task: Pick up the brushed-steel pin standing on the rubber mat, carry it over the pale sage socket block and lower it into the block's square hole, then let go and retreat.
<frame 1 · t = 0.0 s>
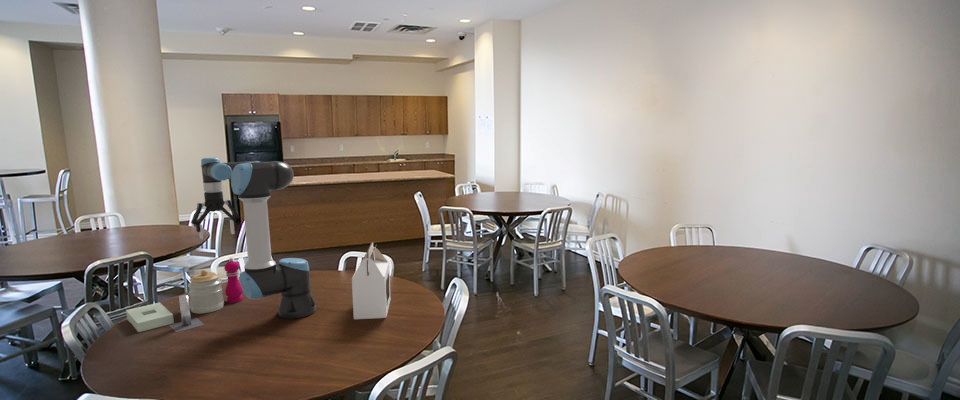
hand: (217, 236, 229), 28 cm above the table, fingers open, 13 cm apart
mat: (186, 325, 196), on the table
pepper mill: (234, 300, 224), on the table
jar: (207, 309, 214), on the table
pin: (186, 324, 196), resting on mat
socket block: (150, 321, 200), on the table
gable box: (373, 309, 212), on the table
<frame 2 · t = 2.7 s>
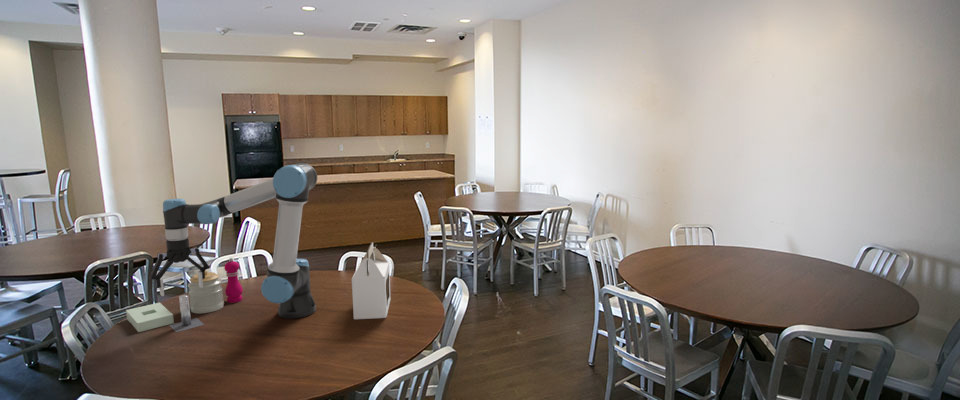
hand: (182, 291, 194), 14 cm above the table, fingers open, 13 cm apart
nothing on the table moved.
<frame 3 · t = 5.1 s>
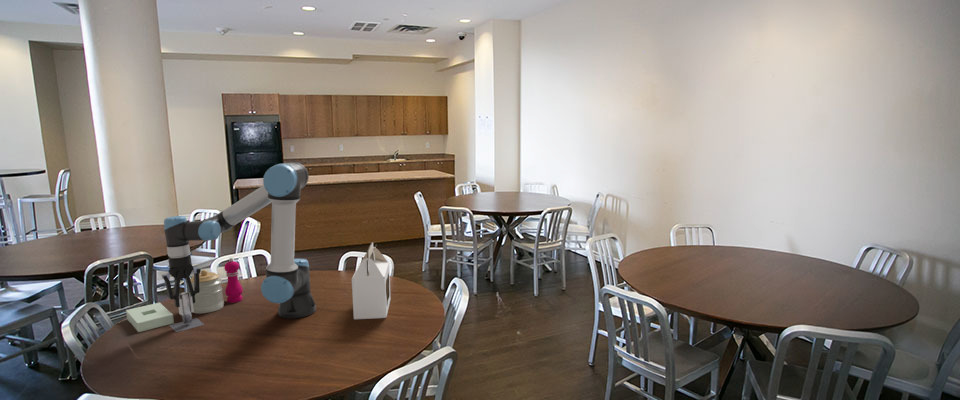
hand: (186, 312, 195), 5 cm above the table, fingers closed on pin, 3 cm apart
pin: (187, 322, 196), point 2 cm above the table, touching gripper
everything else where it was.
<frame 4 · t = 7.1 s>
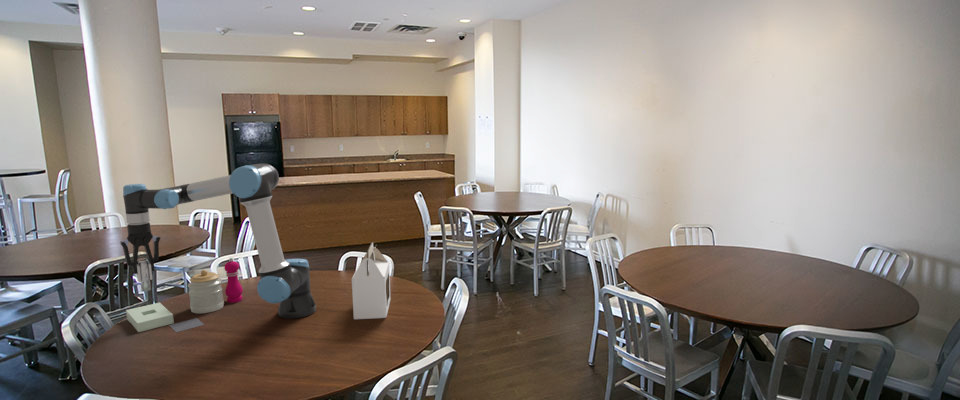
hand: (145, 279, 198), 18 cm above the table, fingers closed on pin, 3 cm apart
pin: (146, 290, 198), point 13 cm above the table, touching gripper
everything else where it was.
when the fingers open (5 cm above the table, at t = 9.8 s): pin drops 1 cm, resting in socket block.
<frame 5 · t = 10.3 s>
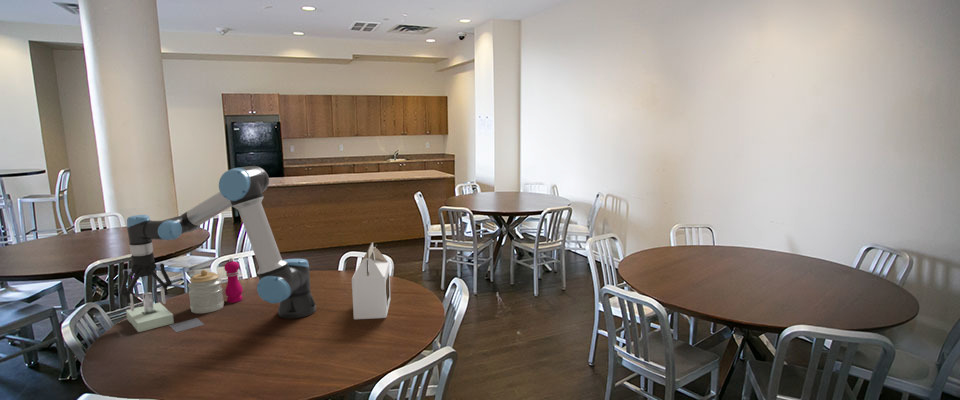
hand: (148, 306, 199), 6 cm above the table, fingers open, 10 cm apart
pin: (150, 321, 200), resting in socket block
everything else where it was.
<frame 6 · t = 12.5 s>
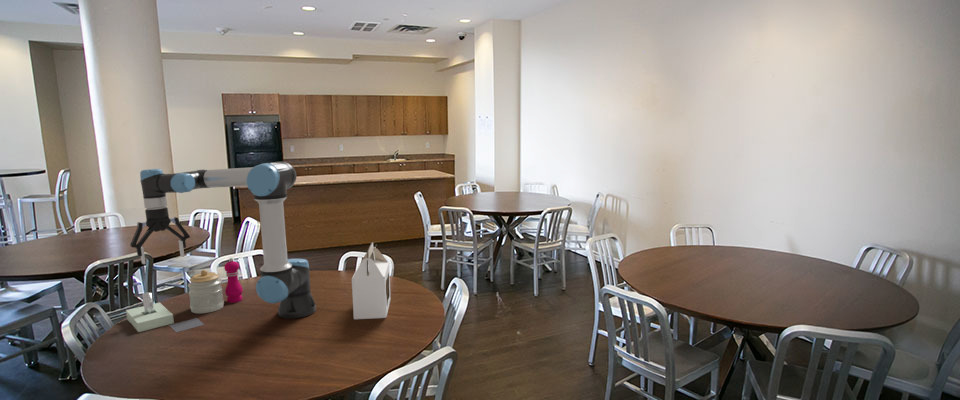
hand: (163, 259, 198), 26 cm above the table, fingers open, 13 cm apart
nothing on the table moved.
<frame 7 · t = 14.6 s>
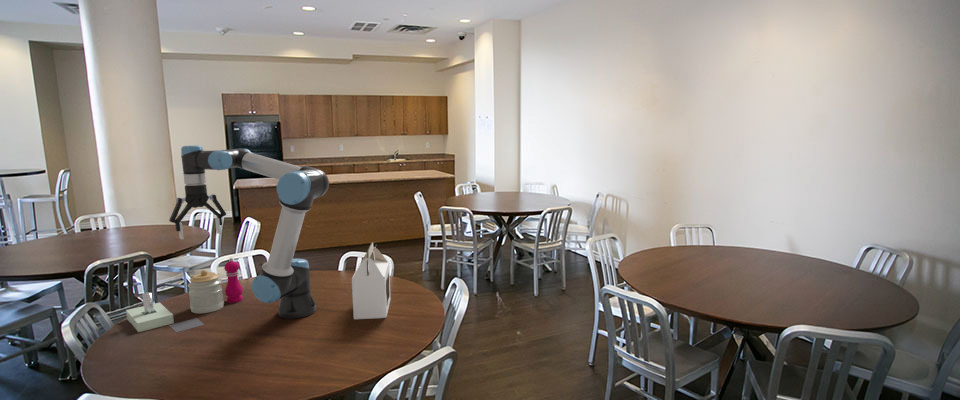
hand: (200, 236, 199), 35 cm above the table, fingers open, 13 cm apart
nothing on the table moved.
at the end: pin 0.0 cm off-centre on the socket block, point 0.0 cm above the socket block's base; pin tilted 0°; the gripper is holding nothing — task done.
